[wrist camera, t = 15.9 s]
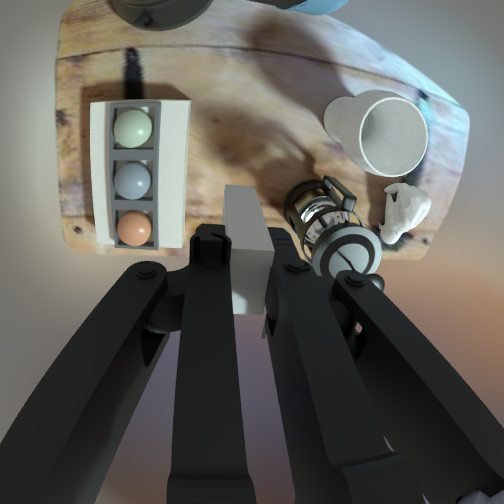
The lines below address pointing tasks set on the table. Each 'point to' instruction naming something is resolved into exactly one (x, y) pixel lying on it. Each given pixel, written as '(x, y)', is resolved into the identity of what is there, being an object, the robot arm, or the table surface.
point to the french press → (333, 231)
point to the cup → (378, 131)
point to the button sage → (133, 128)
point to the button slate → (133, 180)
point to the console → (154, 157)
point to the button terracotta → (134, 227)
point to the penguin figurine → (403, 210)
